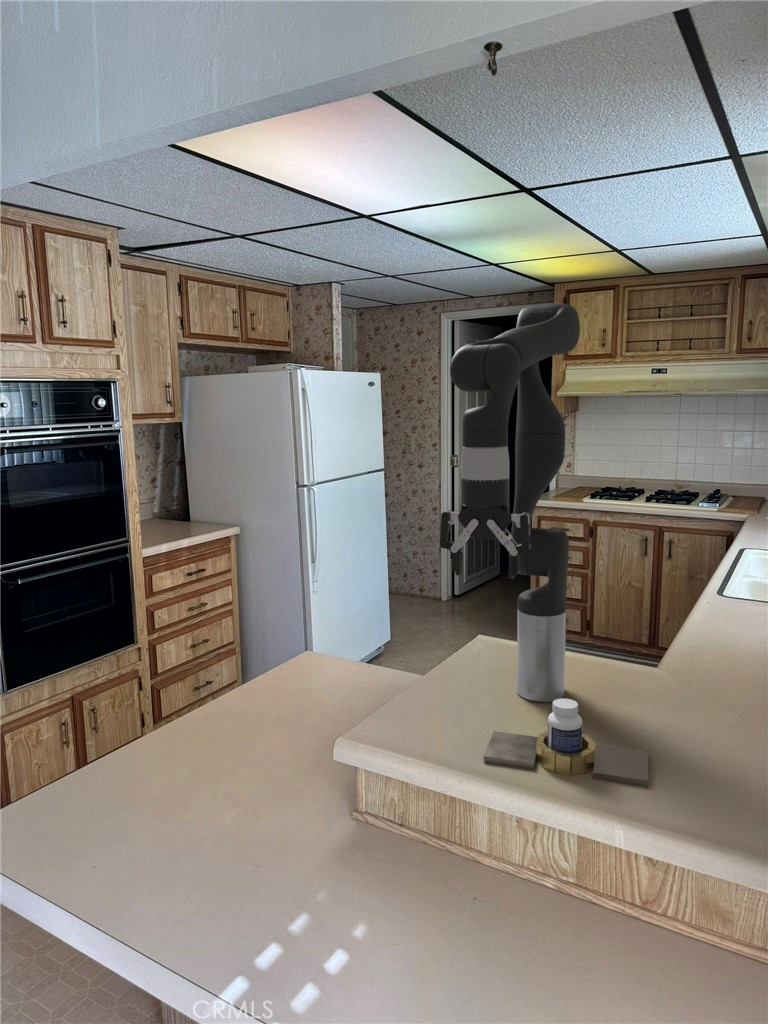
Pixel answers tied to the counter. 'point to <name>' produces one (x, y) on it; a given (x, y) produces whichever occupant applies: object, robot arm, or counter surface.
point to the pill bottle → (565, 727)
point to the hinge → (569, 758)
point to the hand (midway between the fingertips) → (485, 576)
